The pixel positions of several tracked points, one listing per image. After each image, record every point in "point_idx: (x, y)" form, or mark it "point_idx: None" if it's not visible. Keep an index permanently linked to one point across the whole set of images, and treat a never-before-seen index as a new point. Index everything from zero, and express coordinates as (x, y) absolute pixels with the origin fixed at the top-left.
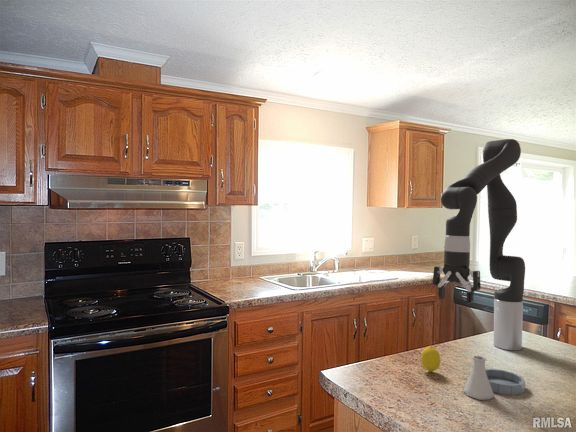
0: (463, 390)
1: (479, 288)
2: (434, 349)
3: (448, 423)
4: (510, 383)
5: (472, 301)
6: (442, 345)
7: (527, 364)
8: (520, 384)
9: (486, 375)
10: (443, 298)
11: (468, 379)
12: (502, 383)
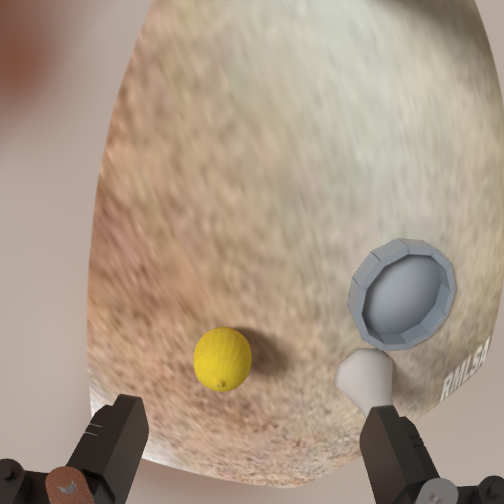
0: (334, 384)
1: (494, 499)
2: (232, 382)
3: (336, 463)
4: (420, 271)
5: (405, 427)
6: (138, 66)
7: (420, 64)
8: (446, 315)
9: (391, 396)
10: (143, 417)
11: (350, 399)
12: (404, 286)
